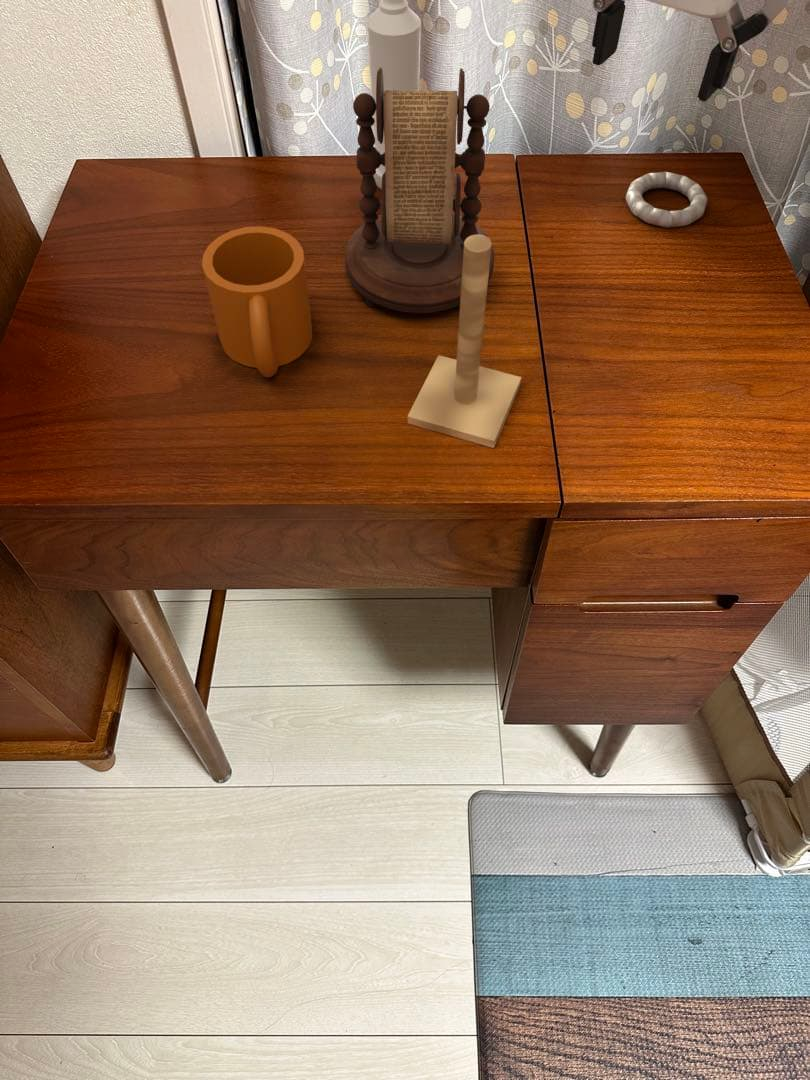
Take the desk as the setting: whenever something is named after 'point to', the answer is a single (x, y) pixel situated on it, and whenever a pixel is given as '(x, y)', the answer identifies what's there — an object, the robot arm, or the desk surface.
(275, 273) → the mug
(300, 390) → the desk surface
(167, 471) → the desk surface
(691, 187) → the ring
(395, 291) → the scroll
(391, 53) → the bottle
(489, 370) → the wooden peg stand
